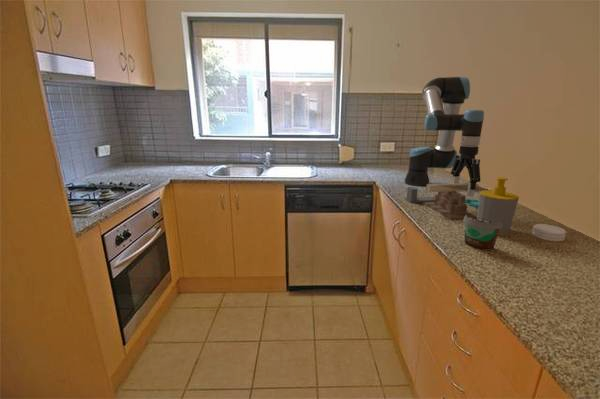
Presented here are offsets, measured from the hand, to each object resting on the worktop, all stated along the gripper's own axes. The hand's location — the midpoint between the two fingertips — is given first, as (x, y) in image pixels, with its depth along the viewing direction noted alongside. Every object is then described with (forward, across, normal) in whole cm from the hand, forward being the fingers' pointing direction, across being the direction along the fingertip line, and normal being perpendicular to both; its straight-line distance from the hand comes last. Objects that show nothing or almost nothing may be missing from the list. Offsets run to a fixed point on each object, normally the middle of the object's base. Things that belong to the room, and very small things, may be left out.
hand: (462, 192), depth 145 cm
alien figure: (+9, -7, +20) cm, 23 cm away
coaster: (+9, +33, +14) cm, 37 cm away
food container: (+9, +38, -18) cm, 43 cm away
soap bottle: (+9, +24, -2) cm, 26 cm away
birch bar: (-1, 0, -6) cm, 6 cm away
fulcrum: (+9, 0, -6) cm, 10 cm away
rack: (+9, -18, -6) cm, 21 cm away
